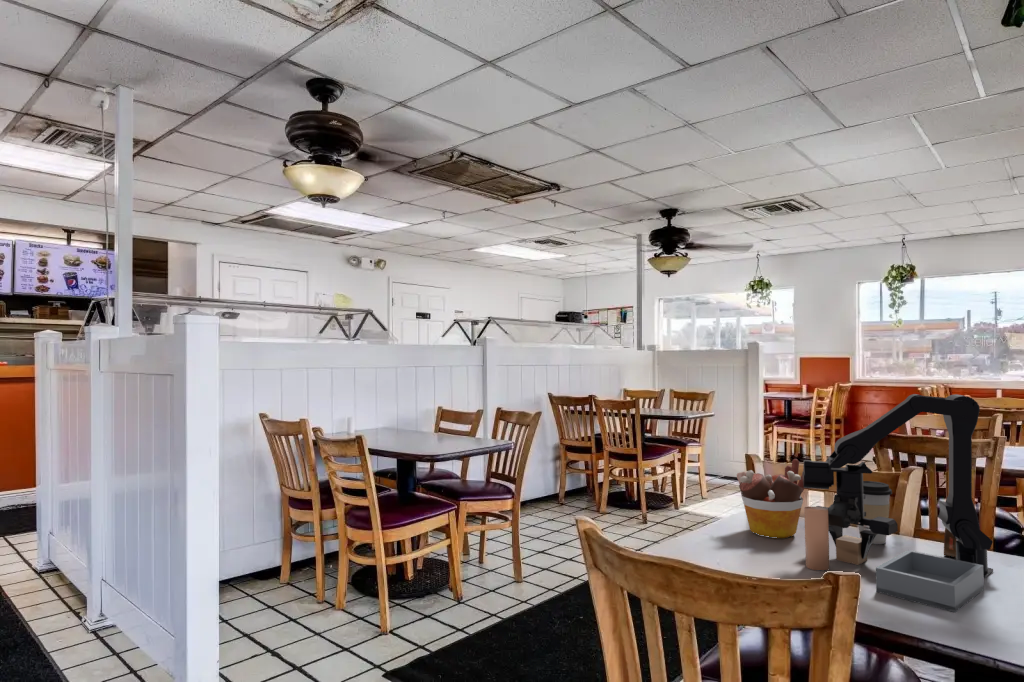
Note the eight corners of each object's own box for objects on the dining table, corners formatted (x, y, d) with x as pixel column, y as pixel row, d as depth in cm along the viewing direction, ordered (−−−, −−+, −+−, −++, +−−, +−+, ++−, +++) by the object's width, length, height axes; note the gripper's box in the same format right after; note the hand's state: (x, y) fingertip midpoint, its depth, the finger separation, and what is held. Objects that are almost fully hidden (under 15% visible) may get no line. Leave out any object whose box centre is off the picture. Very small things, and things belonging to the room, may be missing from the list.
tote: (909, 572, 143) (908, 549, 143) (983, 589, 132) (983, 565, 132) (876, 591, 131) (875, 567, 132) (955, 612, 121) (954, 586, 121)
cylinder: (812, 562, 150) (810, 505, 151) (833, 567, 146) (831, 509, 147) (801, 567, 147) (800, 508, 148) (823, 572, 143) (821, 512, 144)
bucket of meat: (764, 545, 164) (762, 468, 165) (724, 528, 180) (723, 458, 180) (825, 537, 170) (823, 463, 171) (782, 522, 186) (780, 454, 186)
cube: (845, 555, 155) (845, 535, 155) (867, 560, 151) (866, 539, 151) (836, 559, 152) (835, 539, 152) (858, 565, 148) (857, 543, 148)
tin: (948, 544, 162) (947, 511, 163) (963, 546, 160) (962, 513, 161) (942, 559, 151) (941, 524, 151) (958, 562, 149) (957, 526, 149)
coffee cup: (870, 534, 172) (868, 479, 173) (902, 543, 164) (900, 485, 164) (844, 538, 169) (842, 482, 169) (875, 548, 160) (874, 488, 161)
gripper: (795, 489, 154) (797, 553, 154) (877, 502, 139) (879, 573, 139) (816, 483, 161) (818, 544, 161) (897, 494, 146) (899, 562, 146)
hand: (851, 555), depth 151 cm, fingers closed on cube, 5 cm apart
